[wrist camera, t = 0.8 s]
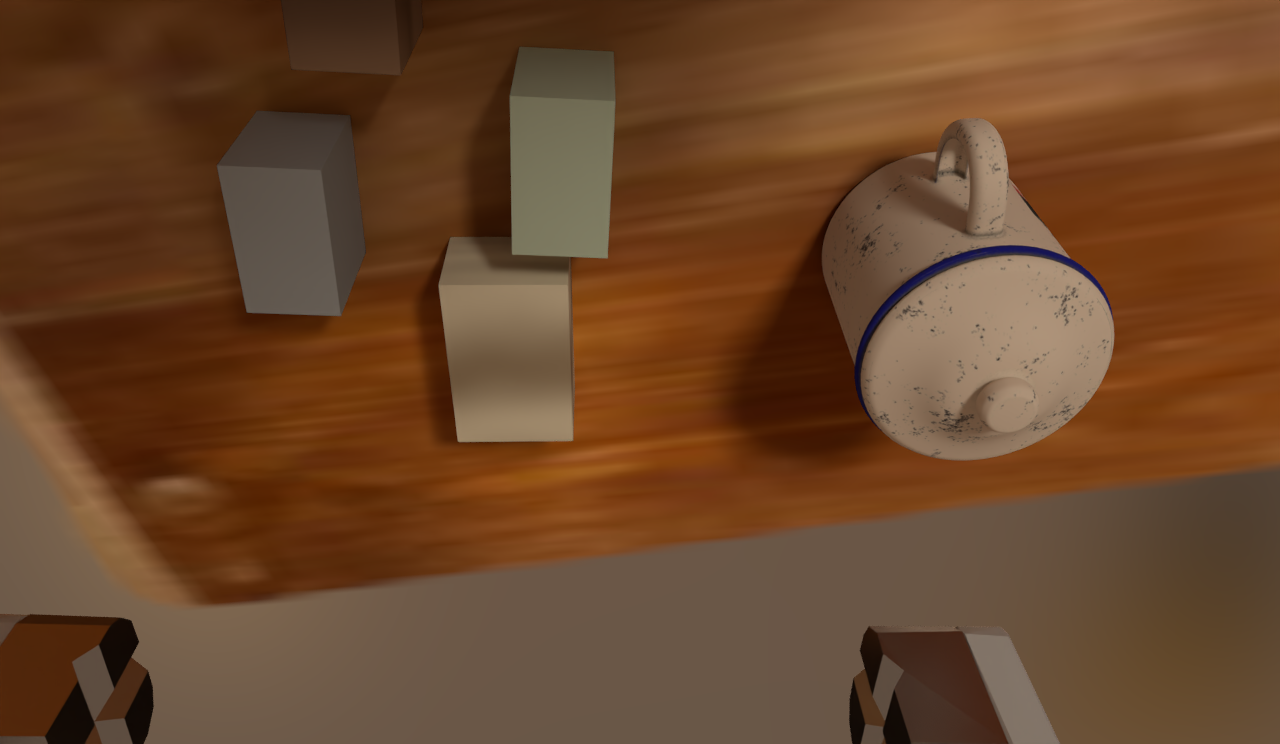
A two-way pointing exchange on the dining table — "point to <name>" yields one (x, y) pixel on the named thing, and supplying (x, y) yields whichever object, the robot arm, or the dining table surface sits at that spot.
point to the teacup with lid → (962, 304)
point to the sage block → (561, 151)
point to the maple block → (508, 341)
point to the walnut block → (352, 34)
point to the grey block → (294, 212)
